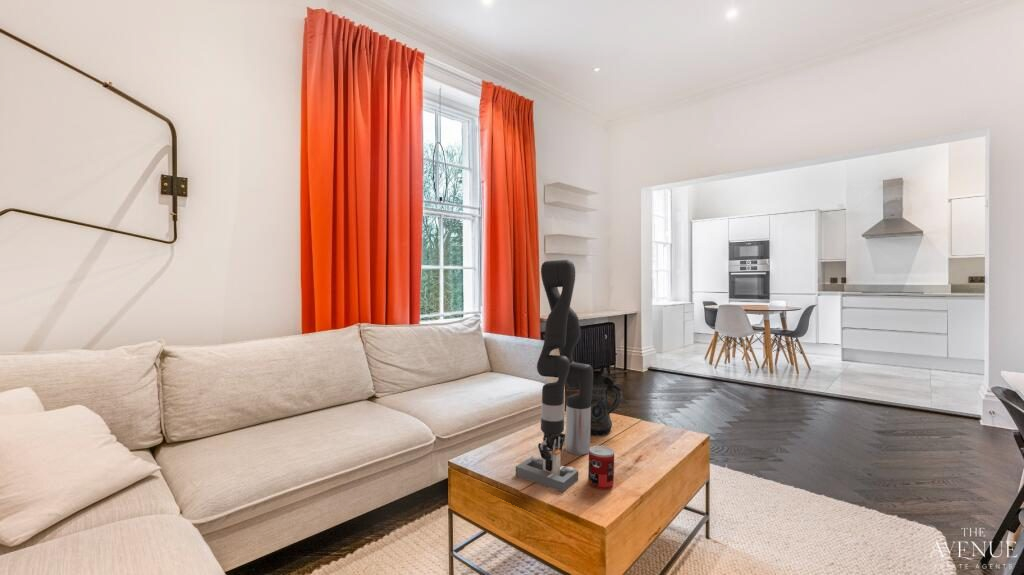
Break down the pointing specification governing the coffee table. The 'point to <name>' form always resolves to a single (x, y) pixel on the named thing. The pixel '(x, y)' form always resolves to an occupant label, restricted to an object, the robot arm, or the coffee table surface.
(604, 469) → the canned food
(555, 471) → the fader tab
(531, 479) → the console
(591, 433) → the beer stein
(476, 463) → the coffee table surface
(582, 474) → the coffee table surface
